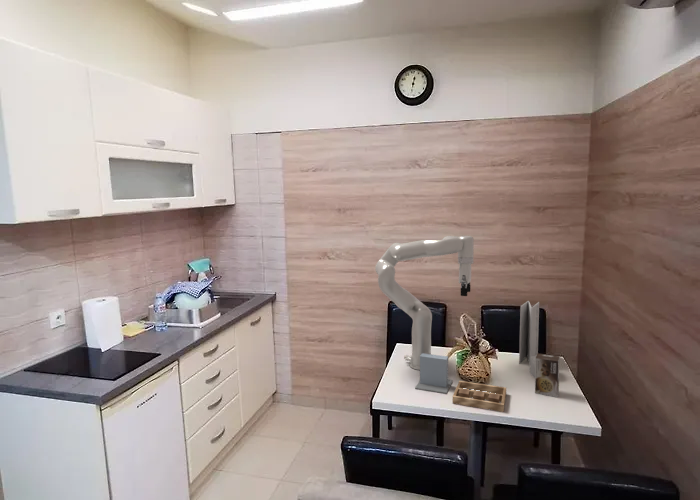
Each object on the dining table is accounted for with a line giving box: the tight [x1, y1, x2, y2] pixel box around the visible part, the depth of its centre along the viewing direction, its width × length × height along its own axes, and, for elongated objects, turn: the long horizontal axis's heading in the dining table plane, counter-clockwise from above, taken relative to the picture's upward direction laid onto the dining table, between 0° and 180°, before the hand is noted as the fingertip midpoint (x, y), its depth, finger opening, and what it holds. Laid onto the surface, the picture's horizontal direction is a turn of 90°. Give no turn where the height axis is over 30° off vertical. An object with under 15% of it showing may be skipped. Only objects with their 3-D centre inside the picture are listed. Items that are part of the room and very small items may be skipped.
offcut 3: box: [487, 393, 501, 403], centre depth 173 cm, size 4×4×4 cm
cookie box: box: [534, 352, 560, 398], centre depth 182 cm, size 9×6×16 cm
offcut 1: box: [458, 389, 471, 398], centre depth 178 cm, size 4×4×4 cm
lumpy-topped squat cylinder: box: [529, 355, 537, 379], centre depth 200 cm, size 10×13×9 cm
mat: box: [414, 378, 453, 395], centre depth 193 cm, size 14×14×1 cm
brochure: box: [518, 300, 540, 366], centre depth 218 cm, size 14×6×30 cm, turn 143°
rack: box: [452, 380, 507, 413], centre depth 179 cm, size 20×16×3 cm
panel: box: [419, 353, 449, 387], centre depth 193 cm, size 12×4×13 cm, turn 66°
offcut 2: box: [472, 391, 486, 401], centre depth 176 cm, size 4×4×4 cm
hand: (465, 293), depth 214 cm, fingers open, 9 cm apart
